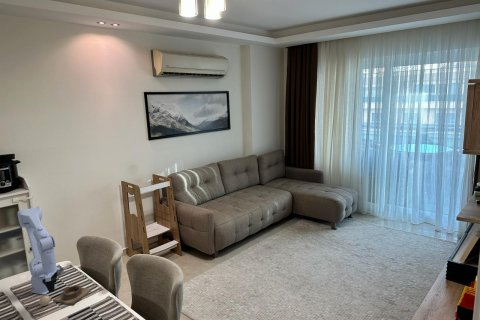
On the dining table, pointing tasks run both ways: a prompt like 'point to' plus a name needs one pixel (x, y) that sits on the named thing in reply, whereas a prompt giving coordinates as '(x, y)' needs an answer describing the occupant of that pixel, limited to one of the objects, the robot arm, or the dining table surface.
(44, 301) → the egg
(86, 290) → the egg stand
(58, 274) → the egg carton
